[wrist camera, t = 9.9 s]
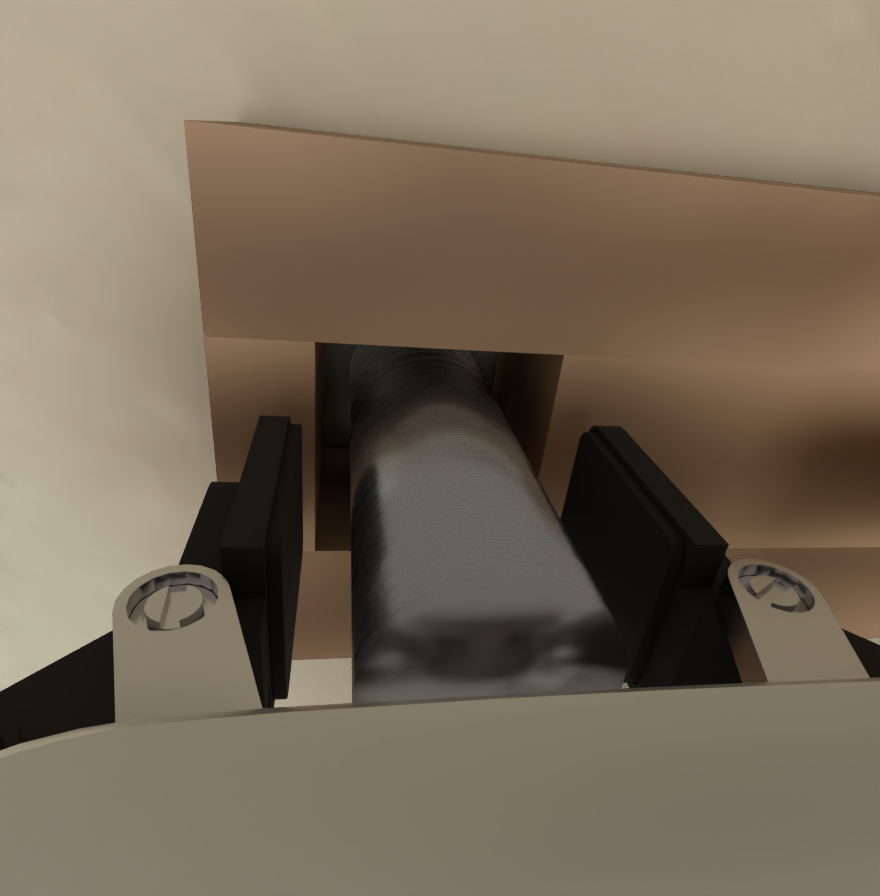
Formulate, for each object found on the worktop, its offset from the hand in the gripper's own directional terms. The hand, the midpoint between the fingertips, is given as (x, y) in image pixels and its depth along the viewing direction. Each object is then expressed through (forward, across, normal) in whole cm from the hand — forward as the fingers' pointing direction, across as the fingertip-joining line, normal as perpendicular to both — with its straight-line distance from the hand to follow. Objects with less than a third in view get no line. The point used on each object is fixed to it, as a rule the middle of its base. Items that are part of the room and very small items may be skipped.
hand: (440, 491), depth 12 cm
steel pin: (+6, 0, 0) cm, 6 cm away
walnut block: (+6, -6, 0) cm, 9 cm away
